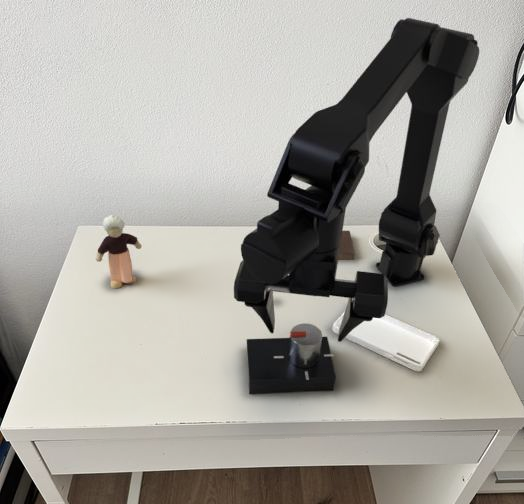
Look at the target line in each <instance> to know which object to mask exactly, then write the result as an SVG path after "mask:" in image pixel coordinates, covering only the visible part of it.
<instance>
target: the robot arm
mask: <svg viewBox="0 0 524 504" xmlns="http://www.w3.org/2000/svg"><path fill="white" fill-rule="evenodd" d="M478 44H479V43H478V40H476V39H475V35H474V34H473V33H468V32H465V31H459V30H455V29H451V28H448V27H447V28H446V27H442V26H441V25H439V24H438V23H435V22H429V21H425V20H421V19H415V18H411V17H406V18H405V19H399V20H398V21H397V22H396V23H395V25H394V26H393V29H392V31H391V34H390V38H389V39H388V41H387V42H386V43H385V44H384V46H383V47H382V48H381V49H380V50H379V52H378V53H377V55H376V56H375V57H374V58H373V59H372V61H371V62H370V63H369V65H367V67H366V68H365V70H363V72H362V73H361V74H360V75H359V77H358V78H357V80H356V81H355V82H354V83H353V85H352V86H351V87H350V88H349V89H348V91H346V93H345V94H344V96H343V97H342V98H341V99H340V100H339V101H338V102H337V103H335V104H333V105H331V106H330V105H329V106H328V107H326V108H322V109H319V110H317V111H316V112H314V113H313V114H312V115H311V116H310V117H308V119H307V120H305V121H304V122H303V124H301V125H300V126H299V127H298V128H297V129H296V130H295V132H294V133H293V134H292V135H291V136H290V138H289V139H288V142H287V143H286V147H285V148H284V151H283V154H282V156H281V159H280V161H279V163H278V166H277V168H276V171H275V174H274V176H273V178H272V181H271V184H270V186H269V188H268V190H267V193H266V197H268V198H269V199H271V200H274V201H276V202H278V207H277V210H275V211H274V212H272V213H270V214H268V215H265V216H264V217H262V218H261V219H259V220H258V221H257V223H256V228H255V229H253V230H252V231H250V232H249V233H248V234H246V235H245V237H244V238H243V240H242V243H241V244H240V254H241V257H242V261H240V263H239V266H238V268H237V272H236V275H235V278H234V282H233V283H234V284H233V299H235V300H236V301H237V302H241V303H244V305H245V307H247V308H251V309H252V310H253V311H254V312H255V313H256V314H257V315H258V317H259V318H260V319H261V321H262V322H263V323H264V325H265V327H266V328H267V330H268V332H269V333H270V334H274V332H275V328H276V327H275V326H276V315H275V303H274V301H275V300H274V292H276V293H284V294H293V295H302V296H309V297H322V298H330V297H339V298H346V299H348V300H347V304H346V307H345V310H344V312H345V313H344V312H343V313H344V316H343V319H342V318H341V319H342V322H341V325H340V329H339V335H338V334H337V335H338V336H337V342H340V343H341V342H342V341H343V340H344V339H346V338H345V337H346V336H347V335H348V334H349V333H350V332H351V331H352V330H353V329H354V328H355V327H357V326H358V325H360V324H361V323H362V322H364V321H371V320H372V319H373V318H382V317H384V316H385V314H386V312H387V308H388V303H389V302H388V301H389V284H390V285H391V286H392V287H398V286H403V285H407V284H412V283H415V282H419V281H423V280H425V277H426V276H425V274H424V273H423V272H422V271H421V269H422V266H423V262H424V260H425V258H426V257H431V256H434V255H435V252H436V247H437V245H438V243H439V238H440V236H441V233H440V232H439V230H438V228H437V226H436V225H435V222H436V217H437V208H436V206H435V203H434V202H433V200H432V198H431V188H432V184H433V180H434V175H435V170H436V167H437V163H438V157H439V153H440V149H441V145H442V144H441V143H442V139H443V134H444V131H445V127H446V121H447V117H448V112H449V108H450V105H451V101H453V99H454V98H455V97H456V96H457V95H458V93H460V91H461V90H463V89H464V87H465V86H466V85H467V84H468V83H469V79H470V77H471V76H472V74H473V73H474V71H475V68H476V67H477V63H478V61H479V57H480V47H479V46H478ZM406 94H407V97H408V98H409V101H410V104H411V106H410V114H409V120H408V126H407V131H406V137H405V143H404V150H403V156H402V161H401V168H400V174H399V179H398V186H397V192H396V197H395V198H393V200H392V201H391V202H389V204H388V205H387V206H386V207H385V208H383V211H382V212H381V213H380V218H379V222H378V241H379V242H383V243H385V247H384V250H382V252H381V257H380V261H379V262H376V263H375V267H376V269H377V270H378V271H379V272H371V271H360V270H357V271H356V273H355V278H354V280H349V279H342V278H341V279H340V278H336V277H337V270H338V265H339V263H338V262H339V260H338V258H339V251H340V244H341V237H342V231H344V223H345V215H346V210H347V209H346V208H347V207H348V204H349V203H350V201H351V200H352V197H353V196H354V194H355V192H356V190H357V188H358V186H359V184H360V182H361V180H362V179H363V176H364V174H365V171H366V167H367V165H368V163H369V162H370V143H371V141H372V139H373V137H374V136H375V135H376V133H377V131H378V130H379V129H380V127H382V125H383V124H384V122H386V120H387V118H388V117H389V116H390V115H391V114H392V112H393V111H394V110H395V108H396V107H397V105H399V103H400V101H401V100H402V99H403V97H404V96H405V95H406ZM292 179H295V180H297V181H299V182H302V183H304V184H307V185H310V186H308V187H307V188H306V189H304V188H301V187H300V186H297V185H294V184H292V183H290V181H291V180H292Z"/></svg>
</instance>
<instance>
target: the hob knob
mask: <svg viewBox="0 0 524 504" xmlns="http://www.w3.org/2000/svg"><path fill="white" fill-rule="evenodd" d="M322 337H323V333H322V331H321V329H320V328H319V327H318V326H316V325H314V324H312V323H307V322H306V323H299V324H298V323H297V324H296V325H294V326H293V327H292V328H291V329H290V333H289V338H290V342H289V355H288V357H289V360H290V362H291V363H292V364H294V365H295V366H297V367H301V368H309V367H312V366H314V365H316V364H317V362H318V361H319V356H320V349H321V342H322Z"/></svg>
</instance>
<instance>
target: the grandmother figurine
mask: <svg viewBox="0 0 524 504" xmlns="http://www.w3.org/2000/svg"><path fill="white" fill-rule="evenodd" d="M125 224H126V223H125V221H124V220H123V219H122V218H120V216H118V215H115V214H114V215H113V214H111V215H108V216H107V217H105V218H103V221H102V227H103V230H104V231H105V232H106V233H107V236H105V237H104V238H103V240H102V242H101V243H100V245H99V246H98V248H97V252H96V257H95V261H96V262H98V263H101V262H102V261H103V257H104V255H105V254H106V253H107V258H108V259H107V261H108V270H109V274H110V287H111V288H112V289H119V288H121V287H122V286H123V283H124V284H127V285H128V284H134V283H135V282H136V281H137V278H136V276H135V275H133V271H134V270H133V263H132V258H131V254H130V253H131V252H130V249H129V248H128V245H131V246H132V245H133V246H134V248H135V249H136V250H140V249H142V247H143V246H142V243H140V241H139V239H138V237H137V236H135V235H134V234H133V235H132V234H130V233H125V232H124V228H125Z"/></svg>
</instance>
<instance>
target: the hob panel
mask: <svg viewBox="0 0 524 504" xmlns="http://www.w3.org/2000/svg"><path fill="white" fill-rule="evenodd" d="M289 342H290V337H271V338H269V337H268V338H246V365H247V382H248V394H249V395H259V394H286V393H309V392H311V393H313V392H333V391H334V388H335V384H336V379H337V375H336V370H335V367H334V362H333V358H334V357H335V356H334V354H333V353H332V352H331V348H330V343H329V339H328V336H322V342H321V349H320V356H319V361H318V362H317V364H316V365H314V366H312V367H309V368H301V367H297V366H295V365H294V364H292V363H291V362H290V360H289V357H288V355H289Z"/></svg>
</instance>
